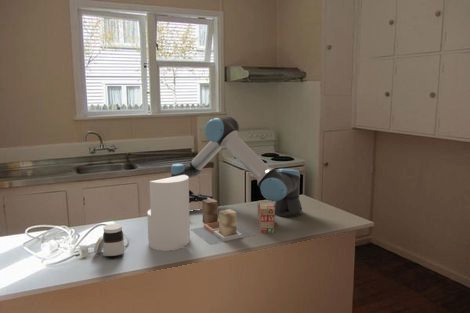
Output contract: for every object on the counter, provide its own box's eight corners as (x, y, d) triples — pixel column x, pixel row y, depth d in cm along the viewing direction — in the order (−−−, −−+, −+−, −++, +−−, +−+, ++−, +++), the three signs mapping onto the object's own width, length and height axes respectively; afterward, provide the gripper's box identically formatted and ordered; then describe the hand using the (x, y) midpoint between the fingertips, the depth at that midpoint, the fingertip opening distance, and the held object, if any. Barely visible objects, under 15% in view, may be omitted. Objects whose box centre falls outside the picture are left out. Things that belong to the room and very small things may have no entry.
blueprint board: (232, 223, 192) (232, 218, 192) (255, 236, 175) (255, 231, 175) (190, 231, 182) (190, 226, 181) (210, 246, 164) (210, 241, 164)
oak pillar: (230, 232, 177) (230, 209, 176) (236, 236, 173) (236, 212, 171) (219, 235, 175) (219, 210, 173) (225, 239, 170) (225, 214, 168)
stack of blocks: (257, 219, 199) (257, 195, 197) (270, 219, 199) (270, 195, 197) (260, 234, 178) (260, 208, 176) (274, 234, 178) (274, 208, 176)
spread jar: (124, 259, 152) (123, 230, 150) (93, 262, 149) (91, 233, 147) (124, 247, 164) (122, 220, 162) (94, 250, 161) (93, 222, 159)
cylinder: (198, 242, 169) (197, 177, 164) (164, 254, 157) (162, 185, 152) (173, 232, 181) (172, 171, 176) (140, 242, 169) (137, 177, 164)
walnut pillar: (212, 220, 197) (212, 198, 195) (217, 223, 192) (217, 201, 190) (202, 222, 194) (202, 200, 192) (207, 225, 190) (207, 203, 188)
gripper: (205, 198, 225) (223, 208, 207) (163, 205, 213) (178, 216, 195) (205, 186, 224) (223, 194, 206) (163, 191, 212) (177, 201, 194)
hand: (201, 205), depth 201 cm, fingers open, 13 cm apart
